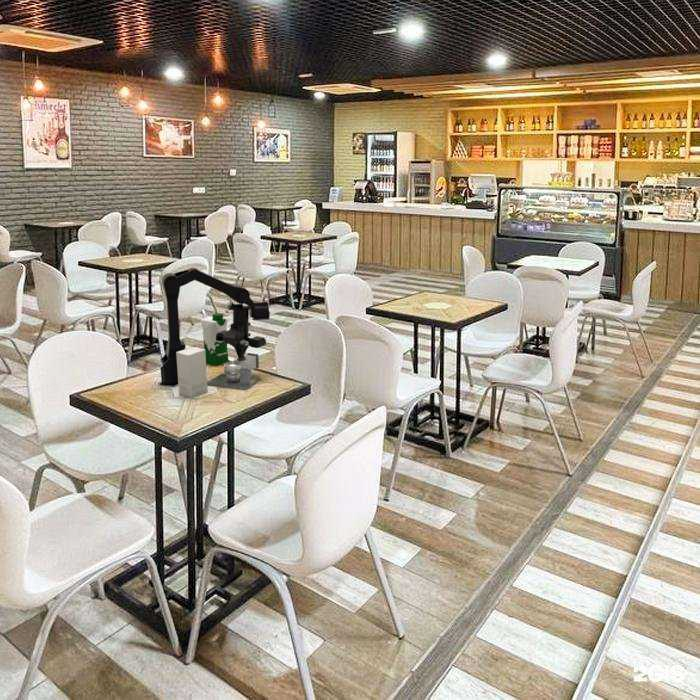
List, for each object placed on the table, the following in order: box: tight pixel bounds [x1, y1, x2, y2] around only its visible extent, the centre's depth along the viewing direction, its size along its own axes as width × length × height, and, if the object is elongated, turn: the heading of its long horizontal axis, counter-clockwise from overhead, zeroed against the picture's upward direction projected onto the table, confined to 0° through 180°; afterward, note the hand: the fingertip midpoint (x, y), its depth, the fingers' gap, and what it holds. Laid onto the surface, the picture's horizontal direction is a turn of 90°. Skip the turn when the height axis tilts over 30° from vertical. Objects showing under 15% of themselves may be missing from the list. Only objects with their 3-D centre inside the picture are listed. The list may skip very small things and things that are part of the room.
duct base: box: [207, 369, 261, 391], centre depth 263 cm, size 16×12×6 cm
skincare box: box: [176, 346, 208, 399], centre depth 250 cm, size 8×7×16 cm
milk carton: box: [200, 312, 230, 367], centre depth 286 cm, size 9×9×20 cm
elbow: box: [223, 352, 260, 374], centre depth 267 cm, size 16×6×5 cm, turn 152°
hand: (240, 361), depth 271 cm, fingers closed
